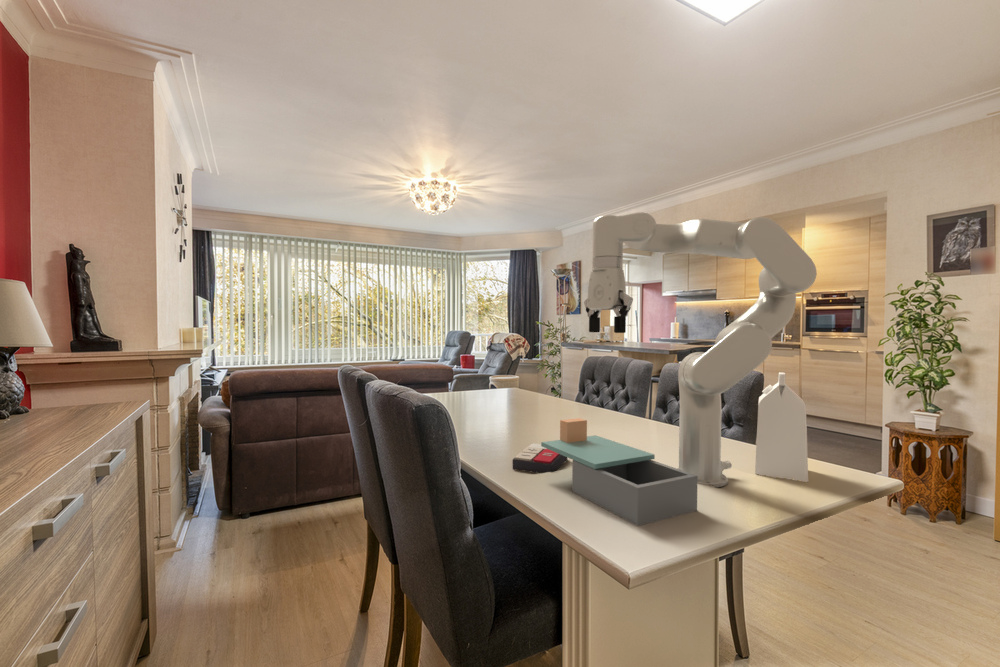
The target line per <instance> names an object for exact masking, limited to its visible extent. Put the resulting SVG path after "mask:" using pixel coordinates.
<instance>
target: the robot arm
mask: <svg viewBox="0 0 1000 667" xmlns="http://www.w3.org/2000/svg"><path fill="white" fill-rule="evenodd" d="M624 244H625V246H626V247H628V248H630V249H633V250H636V251H641V252H642V251H643V252H652V253H666V254H667V253H668V254H670V253H671V254H683V255H686V254H688V255H689V254H691V255H692V254H693V255H694V254H695V255H706V256H713V257H720V258H721V257H723V258H728V259H729V258H730V259H739V260H741V259H742V260H751V259H756V260H757V261H758V262H759V264H760V265H761V266H762V267H763V268H762V269H761V271H760V272H759V276H758V287H759V288H758V289H759V294H758V298H757V300H756V301H755V303H753V305H752V306H750V307H749V308H748V309H747V310H746V311H744V313H742V314H741V315H740V316H738V317H737V319H735V320H734V321H732V322H731V323H729V325H727V326H725V327H724V328H723V329H722V330H720V331H719V333H718V335H717V336H716V337H715V341H714V345H713V346H711V348H709V349H708V350H707V351H705V352H704V351H696V352H692V353H689V354H688V355H687V356H685V357H684V358H683V359H682V360H681V362H680V364H679V367H678V375H677V381H678V390H679V391H678V392H679V393H678V394H679V417H678V418H679V421H678V423H679V424H678V425H679V431H678V436H679V437H678V468H677V469H679V470H682V471H685V472H688V473H691V474H694V475H697V476H698V482H697V485H709V486H710V487H714V488H721V487H724V486H726V485H727V484H728V477H727V476H726V475H724V474H723V471H724V470H728V469H731V468H732V467H733V465H732V462H731V461H729V460H725V461H722V460H721V459H722V458H721V457H722V415H723V414H722V395H721V394H723V393H725V392H726V391H728V390H730V389H731V388H732V387H734V386H736V384H737V383H739V382H741V381H742V380H743V379H744V378H745V377H747V375H749V374H750V373H752V372H753V371H754V370H755V369H757V368H758V367H759V366H760V365H762V364H763V362H765V361H766V359H767V358H768V356H769V355H770V353H771V352H772V347H773V346H772V345H773V341H772V339H773V337H775V336H777V334H778V333H780V332H781V331H782V330H783V329H784V328H785V327H786V326H787V325H788V324H789V323H790V321H791V319H793V316H794V313H795V310H796V304H797V295H796V294H798V293H802V292H804V291H806V290H808V289H809V288H811V287H812V286H813V285H814V284H815V281H816V279H817V275H818V274H817V272H818V271H817V267H816V264H815V263H814V261H813V259H812V258H811V257H810V256H809V255H808V253H807V252H806V251H805V250H804V249H803V248H802V247H801V246H800V245H799V244H798V243H797V242H796V241H795V240H794V238H793V237H792V236H791V235H790V234H789V233H788V232H787V231H786V230H785V229H784V228H783V227H782V226H781V225H780V224H779V223H777V222H776V221H775V220H773V219H771V218H769V217H766V216H757V217H753V218H751V219H750V220H748V221H747V222H738V221H737V222H736V221H726V220H717V219H708V218H696V219H691V220H688V221H685V222H680V223H672V224H671V223H670V224H668V223H667V224H662V223H657V221H656V219H655V218H654V216H653V215H651V214H649V213H648V212H647V213H646V212H644V211H643V212H632V213H629V214H628V213H627V214H622V215H613V214H607V215H606V214H605V215H600V216H598V217H596V218H594V220H593V222H592V271H590V275H589V280H588V285H587V286H588V287H587V288H588V289H587V298H586V299H585V300H584V301H583V304H584V307H585V312H586V313H587V317H588V333H600V331H601V317H600V314H601V312H602V311H611V310H612V311H613V312H614V314H615V316H614V317H613V320H614V321H613V331H614V333H615V334H625V333H626V329H627V328H626V326H627V323H626V322H627V317H628V314H629V312H630V311H631V307H632V304H633V302H634V298H633V297H632V296H630V295H629V294H628V293H627V288H626V286H627V285H626V278H625V272H624V268H623V264H624V263H623V262H624V260H623V259H624V258H623V251H624Z"/></svg>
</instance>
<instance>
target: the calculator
mask: <svg viewBox="0 0 1000 667" xmlns="http://www.w3.org/2000/svg"><path fill="white" fill-rule="evenodd" d="M566 460H567V461H568V457H565V456H563V455H561V454H558V453H556V452H554V451H551V450H549V449H547V448H544V447H542V446H541V443H531V444H529V445H528V446H527V447H525V448H524V449H522V451H520V452H519V453H517V454H516V455H515V456H514V458H512V461H511V462H512V463H511V464H512V470H515V469H517V470H516V471H522V470H525V472H529V471H532V473H536V472H539V473H538V474H544V473H552V472H556V471H557V470H558V469H559V468H560V467H561V466H562V465H563V463H564V462H565V461H566ZM567 461H566V462H567ZM566 462H565V463H566ZM565 463H564V464H565Z"/></svg>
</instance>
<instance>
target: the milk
mask: <svg viewBox="0 0 1000 667" xmlns="http://www.w3.org/2000/svg"><path fill="white" fill-rule="evenodd" d="M777 377H778V378H777V379H778V381H777V383H775V384H773V385H772V384H769V385H767V386H766V387H765V388H764V389H763V390H762V391H761V392H762V394H761V395H760V396H759V397H758V404H757V405H758V406H757V424H756V426H757V427H756V443H755V444H756V445H755V466H754V467H755V469H754V475H755V474H759V475H758V476H762V475H766V476H765V477H769V476H772V477H771V478H776V477H780V478H779V479H783V478H787V479H786V480H790V479H794V480H793V481H797V480H801V481H800V482H804V481H806V483H809V463H808V430H807V428H808V427H807V426H808V425H807V421H808V420H807V405H806V403H805V401H804V400H803V398H802V397H800V395H798V394H797V393H796V392H795V391H794V390H793V389H792V388H791V387H790V386H789V385H788V384H786V373H785V372H780V371H779V372H778V376H777Z"/></svg>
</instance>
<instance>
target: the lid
mask: <svg viewBox="0 0 1000 667" xmlns="http://www.w3.org/2000/svg"><path fill="white" fill-rule="evenodd" d="M559 429H560V430H559V439H556V440H549V441H548V440H547V441H542V442H540V444H541V446H542V447H544V448H547V449H549V450H551V451H554V452H556V453H558V454H561V455H563V456H565V457H567V459H568V458H569V459H570V460H572V461H573V460H575V461H577V462H580V463H582V464H584V465H587V466H589V467H591V468H594V469H598V468H604V467H610V466H616V465H622V464H628V463H634V462H640V461H646V460H655V458H656V457H655V454H654V453H651V452H649V451H648V452H647V451H644V450H641V449H638V448H635V447H633V446H629V445H627V444H623V443H620V442H616V441H615V440H610V439H607V438H605V437H601V436H598V435H588V420H587V419H583V418H581V417H579V418H567V419H560V421H559Z"/></svg>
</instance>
